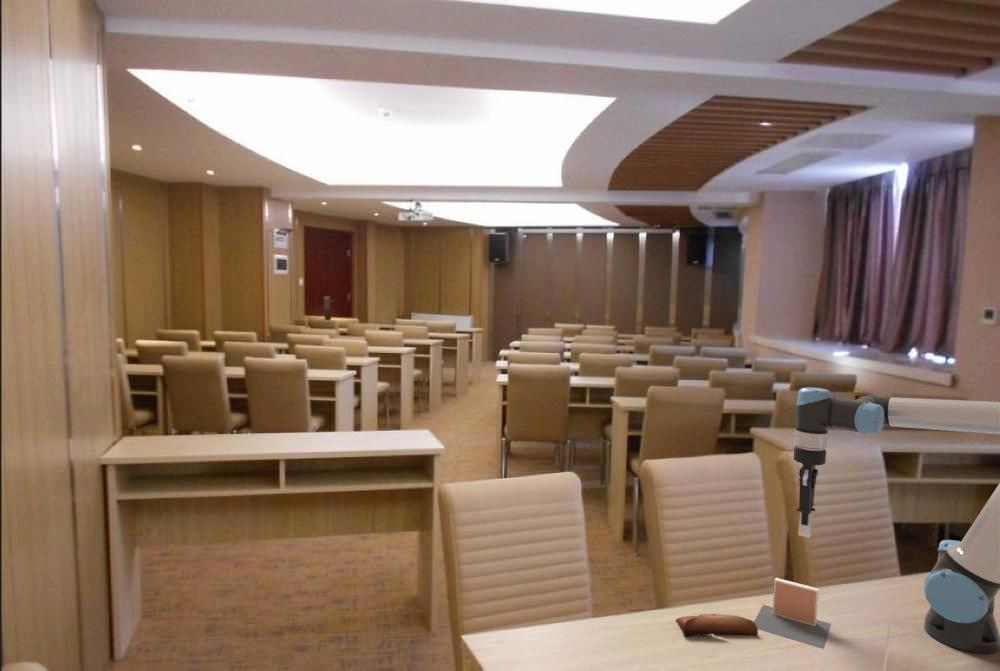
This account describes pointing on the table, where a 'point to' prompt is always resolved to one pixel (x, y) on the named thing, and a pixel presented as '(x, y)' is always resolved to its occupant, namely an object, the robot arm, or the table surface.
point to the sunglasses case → (716, 625)
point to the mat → (792, 628)
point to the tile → (795, 601)
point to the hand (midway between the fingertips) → (804, 535)
